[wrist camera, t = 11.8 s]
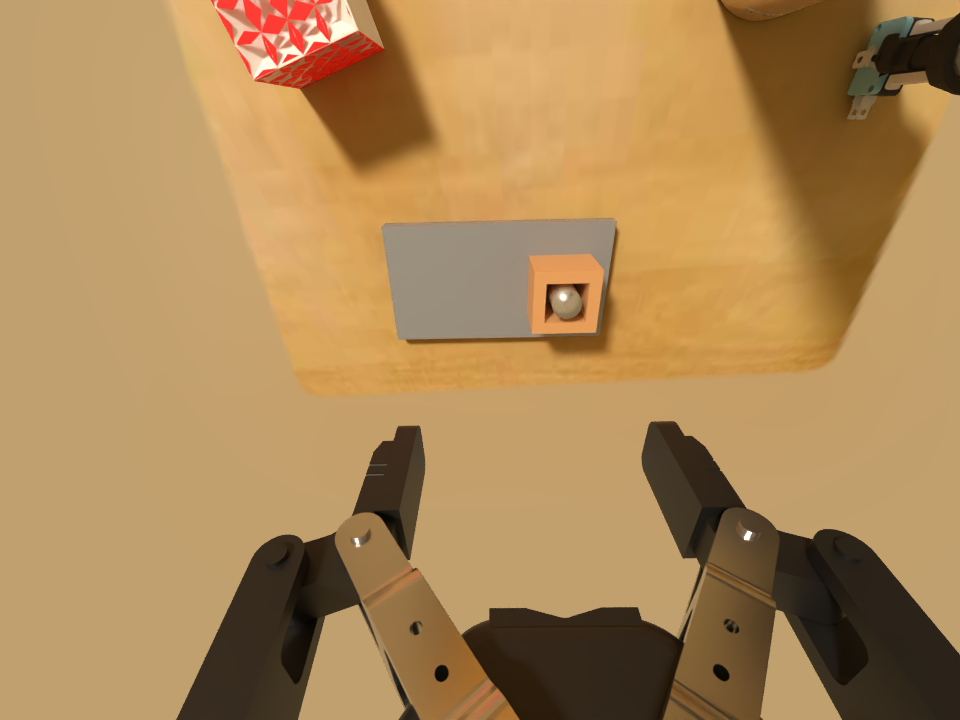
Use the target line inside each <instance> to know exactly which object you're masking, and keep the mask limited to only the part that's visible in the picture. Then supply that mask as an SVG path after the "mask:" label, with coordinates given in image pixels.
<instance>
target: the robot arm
mask: <svg viewBox="0 0 960 720" xmlns="http://www.w3.org/2000/svg"><path fill="white" fill-rule="evenodd" d="M721 1H722V3H723V4H724V6H725V7H726V8H727V9H728V10H729V11H730V12H731V13H732V14H734V15H735V16H737V17H740V18H742V19H744V20H751V21H762V20H768V19H772V18H775V17H778V16H781V15H786V14H789V13H792V12H795V11H797V10H799V9H801V8H804V7H807V6H810V5H813V4H815V3H818V2H821V1H824V0H721ZM642 466H643V470H644V473H645V475H646V477H647V480H648V482H649V484H650V486H651V489H652V491H653V493H654V495H655V497H656V499H657V502H658V504H659V506H660V509H661V510H662V513H663V515H664V517H665V520H666V522H667V524H668V526H669V529H670V531H671V533H672V535H673V537H674V540H675V542H676V544H677V546H678V549H679V551H680V553H681V555H682V557H683V558H697V560H698V562H699V564H700V568H699V571H698V574H697V577H696V580H695V583H694V586H693V589H692V592H691V595H690V598H689V602H688V605H687V608H686V611H685V614H684V617H683V621H682V623H681V626H680V629H679V631H678V634H677V637H675V636H673V635H672V634H670V633H669V632H667V631H666V630H664V629H662V628H660V627H658V626H657V625H654V624H652V623H649V622H647V621H643V620H641V616H640V613H639V610H638V608H637V607H615V608H614V607H613V608H598V609H595V610H592V611H588V612H585V613H582V614H578V615H575V616H572V617H569V618H561V617H557V616H553V615H549V614H545V613H542V612H538V611H534V610H530V609H527V608H490V610H489V612H490V613H489V614H490V616H489V620H488V621H484V622H481V623H480V624H477V625H475V626H473V627H471V628H470V629H468V630H467V631H465V632H464V633H463V634H462V635H461V634H460V633H459V631H458V630H457V628H456V626H455V625H454V623H453V622H452V620H451V619H450V617H449V615H448V614H447V612H446V611H445V609H444V608H443V606H442V605H441V603H440V601H439V600H438V599H437V597H436V596H435V594H434V592H433V591H432V589H431V587H430V586H429V584H428V583H427V581H426V580H425V578H424V576H423V575H422V574H421V572H420V571H419V570H418V569H417V568H415V569H413V568H412V566H411V565H410V563H409V562H408V560H410V556H411V550H412V544H413V538H414V532H415V527H416V521H417V516H418V510H419V503H420V498H421V492H422V486H423V480H424V474H425V456H424V448H423V442H422V435H421V429H420V426H398V428H397V431H396V434H395V438H394V441H383V442H382V443H381V444H380V445H379V447H378V448H377V449H376V450H375V451H374V452H373V456H372V458H371V461H370V466H369V468H368V470H367V473H366V477H365V479H364V482H363V486H362V488H361V491H360V494H359V497H358V500H357V503H356V506H355V509H354V512H353V514H352V516H351V517H350V518H348V519H347V520H345V521H344V522H343V523H342V525H341V526H340V527H339V528H338V530H337V531H336V532H335V533H333V534H331V535H329V536H326V537H323V538H320V539H316V540H313V541H310V542H306V543H303V541H302V540H301V539H300V538H299V537H297V536H295V535H281V536H278V537H276V538H273V539H271V540H269V541H268V542H266V543H265V544H264V545H262V546H261V547H260V548H259V549H258V550H257V551H256V553H255V554H254V556H253V557H252V559H251V561H250V564H249V566H248V568H247V570H246V572H245V574H244V576H243V578H242V581H241V583H240V585H239V587H238V589H237V591H236V593H235V596H234V598H233V600H232V602H231V604H230V606H229V608H228V610H227V613H226V615H225V617H224V619H223V621H222V623H221V626H220V628H219V630H218V632H217V634H216V636H215V638H214V640H213V643H212V645H211V647H210V649H209V651H208V653H207V655H206V657H205V660H204V662H203V664H202V666H201V668H200V670H199V673H198V675H197V677H196V679H195V681H194V684H193V685H192V688H191V689H190V692H189V694H188V696H187V698H186V700H185V703H184V704H183V707H182V709H181V711H180V713H179V715H178V717H177V719H176V720H298V717H299V713H300V710H301V706H302V702H303V698H304V694H305V691H306V687H307V683H308V679H309V676H310V672H311V668H312V664H313V661H314V657H315V653H316V649H317V645H318V642H319V638H320V634H321V630H322V627H323V623H324V619H325V616H326V615H329V614H332V613H334V612H337V611H340V610H343V609H346V608H349V607H351V606H354V605H358V607H359V609H360V611H361V613H362V616H363V618H364V620H365V622H366V624H367V626H368V629H369V631H370V633H371V635H372V637H373V639H374V642H375V644H376V646H377V648H378V650H379V652H380V655H381V657H382V659H383V662H384V664H385V666H386V669H387V671H388V673H389V676H390V678H391V681H392V683H393V685H394V687H395V689H396V692H397V693H398V696H399V698H400V700H401V702H402V705H403V707H404V709H405V711H404V713H403V714H402V715H401V717H400V718H399V720H763V719H762V718H761V717H760V715H761V708H762V701H763V694H764V687H765V681H766V673H767V667H768V659H769V653H770V646H771V639H772V632H773V625H774V618H775V611H776V610H780V611H783V612H784V614H785V616H786V618H787V619H788V621H789V623H790V625H791V627H792V629H793V630H794V632H795V634H796V636H797V638H798V639H799V641H800V643H801V645H802V647H803V649H804V651H805V652H806V654H807V656H808V658H809V660H810V661H811V663H812V665H813V667H814V669H815V671H816V673H817V674H818V676H819V678H820V680H821V682H822V683H823V685H824V687H825V689H826V691H827V693H828V695H829V696H830V698H831V700H832V702H833V704H834V706H835V707H836V709H837V711H838V713H839V715H840V717H841V718H842V720H960V655H959V653H958V652H957V651H956V650H955V648H954V647H953V646H952V645H951V644H950V642H949V641H948V640H947V639H946V637H945V636H944V635H943V634H942V633H941V631H940V630H939V629H938V628H937V627H936V626H935V624H934V623H933V622H932V621H931V619H930V618H929V617H928V616H927V615H926V614H925V612H924V611H923V610H922V609H921V607H920V606H919V605H918V604H917V603H916V601H915V600H914V599H913V598H912V597H911V596H910V594H909V593H908V592H907V591H906V589H905V588H904V587H903V586H902V585H901V583H900V582H899V581H898V580H897V579H896V577H895V576H894V575H893V574H892V572H891V571H890V570H889V569H888V568H887V566H886V565H885V564H884V563H883V562H882V561H881V559H880V558H879V557H878V556H877V554H876V553H875V552H874V551H873V550H872V549H871V548H870V547H868V545H866V544H865V543H864V542H862V541H861V540H859V539H857V538H856V537H854V536H852V535H850V534H847V533H845V532H842V531H838V530H833V529H824V530H820V531H818V532H817V533H816V534H815V536H814V538H813V539H809V538H805V537H801V536H797V535H793V534H789V533H785V532H782V531H778V530H776V528H775V527H774V526H773V524H772V523H771V522H770V521H769V520H767V519H766V518H764V517H763V516H762V515H760V514H758V513H756V512H754V511H752V510H749V509H747V508H746V507H745V505H744V504H743V502H742V501H741V500H740V498H739V496H738V495H737V493H736V492H735V490H734V489H733V487H732V486H731V485H730V483H729V481H728V480H727V478H726V477H725V475H724V474H723V473H722V471H720V468H719V467H718V465H717V464H716V462H715V461H713V458H712V456H711V455H710V453H709V452H708V450H707V449H706V447H705V446H704V445H702V444H701V443H700V442H699V441H697V440H696V439H695V438H694V437H692V436H684V434H683V433H682V431H681V430H680V428H679V426H678V425H677V423H676V422H674V421H662V422H651V423H650V424H649V427H648V431H647V435H646V439H645V443H644V448H643V452H642Z"/></svg>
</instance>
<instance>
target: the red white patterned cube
mask: <svg viewBox="0 0 960 720" xmlns="http://www.w3.org/2000/svg"><path fill="white" fill-rule="evenodd" d="M211 1H212V3H213V5H214V7H215V9H216V11H217V13H218V14H219V16H220V18H221V20H222V22H223V24H224V26H225V28H226V30H227V31H228V33H229V35H230V37H231V39H232V41H233V43H234V45H235V47H236V48H237V50H238V52H239V54H240V56H241V58H242V60H243V62H244V64H245V66H246V67H247V69H248V71H249V73H250V75H251V77H252V79H253V81H257V82H263V83H269V84H274V85H280V86H286V87H292V88H298V89H301V87H302V88H303V86H304V87H305V86H308V85H310V84H312V83H314V81H315V82H316V80H317V81H318V80H319V79H322V78H324V77H326V76H328V75H330V74H333V73H335V72H337V71H339V70H341V69H343V68H345V67H348V66H350V65H352V64H354V63H356V62H358V61H360V60H362V59H365V58H367V57H369V56H371V55H373V54H376V53H378V52H380V51H382V50H385V48H384V46H383V44H382V41H381V38H380V36H379V33H378V31H377V28H376V25H375V23H374V20H373V17H372V15H371V12H370V9H369V7H368V4H367V1H366V0H211Z"/></svg>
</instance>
